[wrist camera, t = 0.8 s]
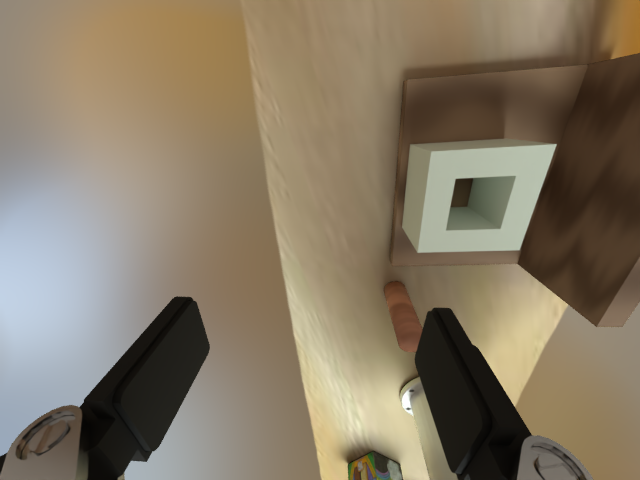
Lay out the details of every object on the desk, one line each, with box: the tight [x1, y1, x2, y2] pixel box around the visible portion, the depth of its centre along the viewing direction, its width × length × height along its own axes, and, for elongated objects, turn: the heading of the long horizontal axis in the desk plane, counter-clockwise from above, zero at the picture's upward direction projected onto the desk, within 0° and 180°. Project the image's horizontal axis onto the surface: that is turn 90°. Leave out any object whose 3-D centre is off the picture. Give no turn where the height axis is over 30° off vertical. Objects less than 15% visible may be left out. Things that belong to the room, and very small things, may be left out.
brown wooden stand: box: [390, 53, 640, 327], centre depth 22 cm, size 20×18×12 cm
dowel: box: [384, 281, 423, 352], centre depth 30 cm, size 3×3×9 cm
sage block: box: [402, 139, 557, 253], centre depth 23 cm, size 9×9×6 cm
